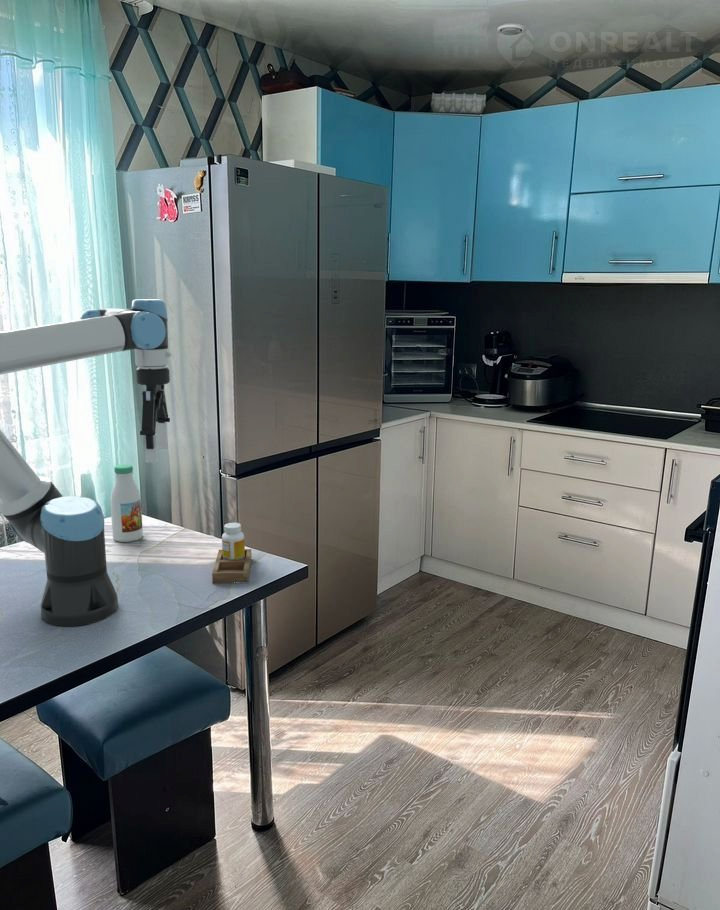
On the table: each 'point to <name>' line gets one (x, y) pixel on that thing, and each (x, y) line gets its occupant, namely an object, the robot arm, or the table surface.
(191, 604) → the table surface
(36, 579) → the table surface
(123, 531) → the milk bottle
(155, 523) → the table surface
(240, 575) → the compartment tray
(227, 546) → the supplement bottle
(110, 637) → the table surface
